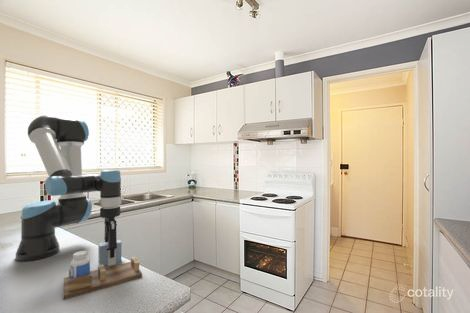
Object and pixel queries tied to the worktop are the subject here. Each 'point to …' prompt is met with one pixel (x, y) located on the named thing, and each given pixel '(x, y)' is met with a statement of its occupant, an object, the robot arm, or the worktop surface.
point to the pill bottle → (80, 264)
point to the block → (104, 253)
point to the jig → (101, 278)
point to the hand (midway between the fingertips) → (110, 261)
